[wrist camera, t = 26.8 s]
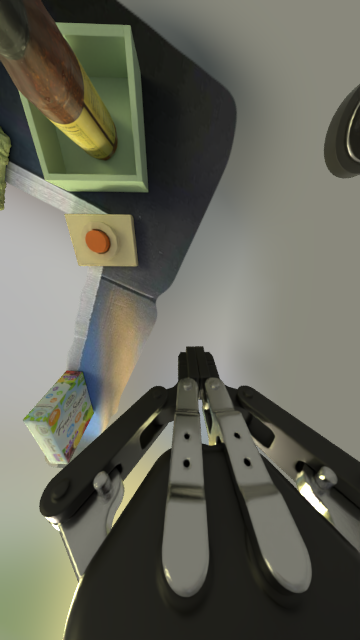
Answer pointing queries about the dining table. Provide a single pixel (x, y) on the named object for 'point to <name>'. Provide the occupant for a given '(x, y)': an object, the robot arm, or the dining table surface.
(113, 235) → the panel
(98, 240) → the button
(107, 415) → the dining table surface
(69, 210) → the dining table surface
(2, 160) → the washcloth
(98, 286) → the dining table surface
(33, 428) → the snack box
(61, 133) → the sage green tray
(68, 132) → the sauce bottle
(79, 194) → the dining table surface
